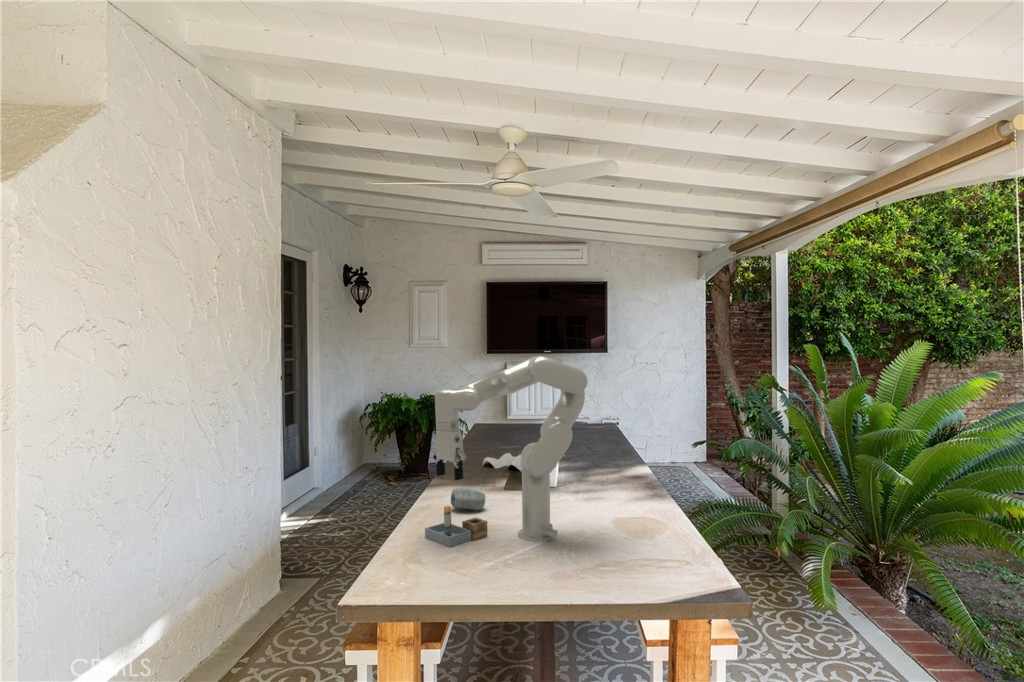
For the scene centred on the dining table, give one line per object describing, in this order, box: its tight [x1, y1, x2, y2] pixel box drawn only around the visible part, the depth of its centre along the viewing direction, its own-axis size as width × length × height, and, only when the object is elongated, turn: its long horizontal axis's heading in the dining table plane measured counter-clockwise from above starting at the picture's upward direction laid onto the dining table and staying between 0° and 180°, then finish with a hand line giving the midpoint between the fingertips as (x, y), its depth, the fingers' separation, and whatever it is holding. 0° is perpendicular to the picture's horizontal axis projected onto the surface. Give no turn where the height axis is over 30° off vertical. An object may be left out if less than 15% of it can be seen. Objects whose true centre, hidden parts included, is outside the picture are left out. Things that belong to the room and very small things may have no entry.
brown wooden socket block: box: [461, 517, 488, 541], centre depth 191 cm, size 6×6×5 cm
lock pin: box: [443, 505, 452, 537], centre depth 188 cm, size 2×2×10 cm
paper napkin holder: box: [482, 452, 522, 472], centre depth 287 cm, size 25×19×10 cm
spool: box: [450, 486, 486, 512], centre depth 220 cm, size 14×10×10 cm
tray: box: [424, 522, 472, 548], centre depth 189 cm, size 13×9×3 cm
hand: (449, 477), depth 189 cm, fingers open, 9 cm apart
